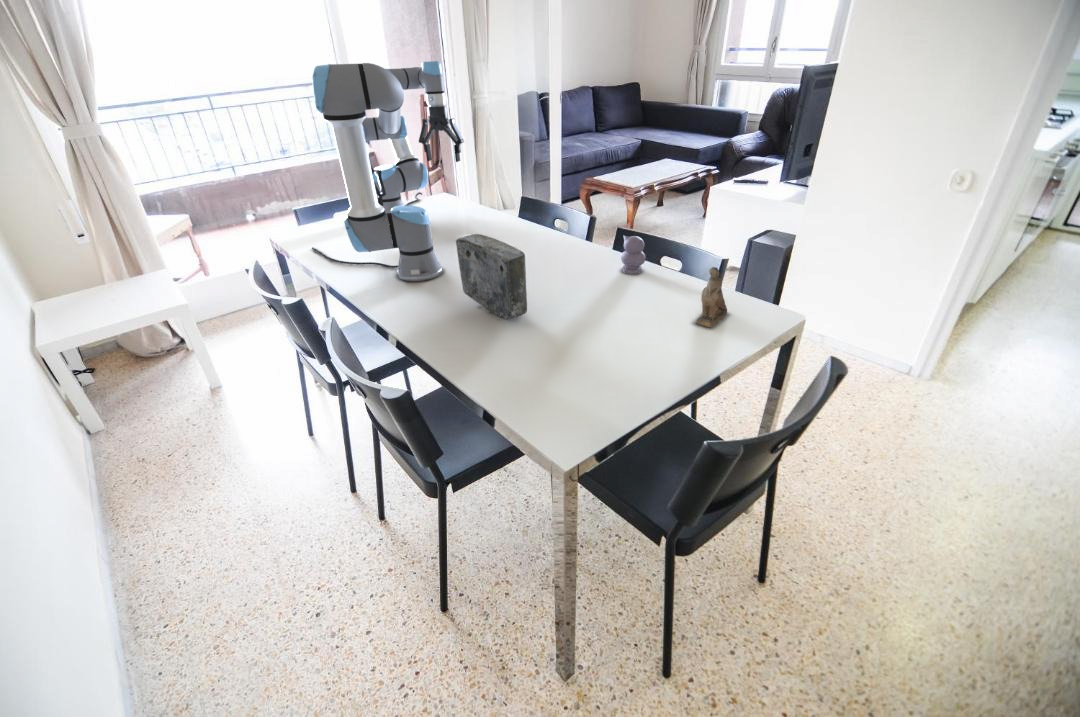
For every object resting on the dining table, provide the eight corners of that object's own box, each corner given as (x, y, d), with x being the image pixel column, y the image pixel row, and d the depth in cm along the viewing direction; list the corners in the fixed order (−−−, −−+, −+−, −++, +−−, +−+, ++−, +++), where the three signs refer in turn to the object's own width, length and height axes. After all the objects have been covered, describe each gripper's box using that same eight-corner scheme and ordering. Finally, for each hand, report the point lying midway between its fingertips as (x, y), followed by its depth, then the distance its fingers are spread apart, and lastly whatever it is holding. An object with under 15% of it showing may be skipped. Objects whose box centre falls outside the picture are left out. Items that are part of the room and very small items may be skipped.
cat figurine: (649, 270, 171) (652, 236, 165) (636, 276, 167) (638, 242, 160) (628, 264, 176) (630, 231, 170) (615, 271, 172) (617, 237, 165)
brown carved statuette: (709, 335, 136) (713, 280, 124) (691, 329, 139) (693, 274, 128) (730, 313, 142) (736, 258, 130) (712, 307, 145) (716, 253, 133)
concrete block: (534, 321, 142) (531, 253, 131) (508, 330, 137) (503, 261, 127) (486, 291, 160) (480, 231, 150) (462, 299, 156) (454, 237, 145)
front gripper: (382, 151, 198) (393, 209, 209) (331, 157, 189) (346, 217, 201) (387, 153, 192) (398, 213, 204) (335, 159, 184) (350, 221, 196)
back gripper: (405, 106, 202) (413, 161, 213) (460, 106, 195) (466, 163, 206) (414, 104, 208) (422, 158, 219) (468, 104, 201) (473, 160, 212)
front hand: (372, 215), depth 203 cm, fingers closed on canister, 6 cm apart
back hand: (443, 161), depth 212 cm, fingers open, 13 cm apart
